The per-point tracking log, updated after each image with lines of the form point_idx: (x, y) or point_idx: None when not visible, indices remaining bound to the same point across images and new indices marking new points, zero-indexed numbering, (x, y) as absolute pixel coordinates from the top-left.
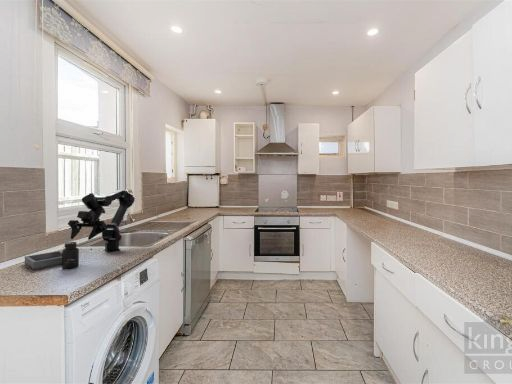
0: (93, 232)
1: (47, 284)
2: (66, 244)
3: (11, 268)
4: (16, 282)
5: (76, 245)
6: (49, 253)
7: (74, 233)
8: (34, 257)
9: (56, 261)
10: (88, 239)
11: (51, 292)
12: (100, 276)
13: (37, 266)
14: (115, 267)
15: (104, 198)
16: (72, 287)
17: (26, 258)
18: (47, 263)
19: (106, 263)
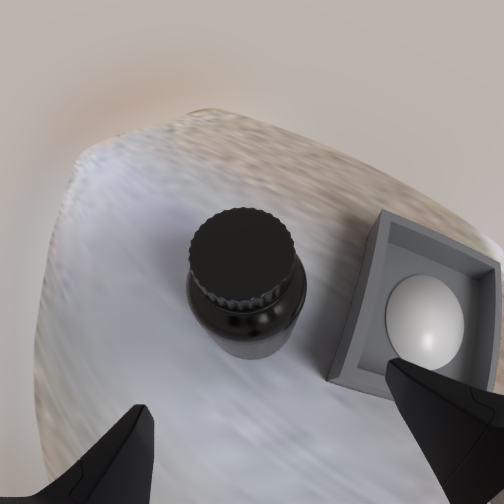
0: (77, 470)
1: (168, 160)
2: (239, 210)
3: (460, 231)
4: (280, 146)
5: (199, 290)
6: (489, 356)
7: (434, 420)
8: (489, 296)
9: (357, 305)
10: (149, 413)
11: (119, 142)
12: (51, 257)
13: (372, 235)
14: (46, 366)
15: None
16: (88, 173)
17: (478, 254)
18: (366, 267)
19: None
